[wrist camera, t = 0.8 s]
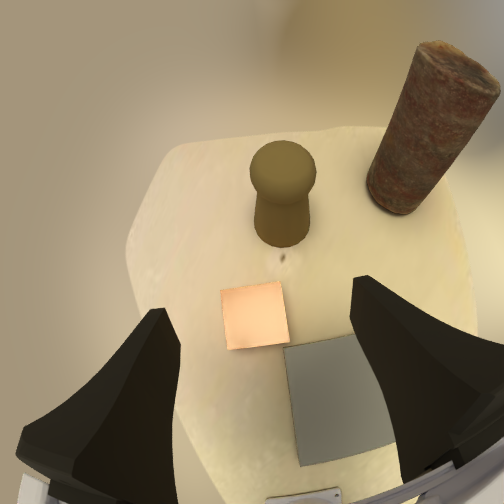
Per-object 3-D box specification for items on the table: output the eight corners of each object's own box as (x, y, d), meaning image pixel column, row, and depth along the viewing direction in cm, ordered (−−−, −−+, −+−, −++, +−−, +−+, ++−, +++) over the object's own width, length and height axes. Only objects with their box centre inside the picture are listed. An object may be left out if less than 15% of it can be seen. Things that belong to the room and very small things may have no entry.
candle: (384, 228, 28) (477, 94, 10) (351, 177, 31) (398, 29, 12) (427, 205, 29) (515, 91, 10) (396, 160, 31) (453, 35, 12)
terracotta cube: (287, 341, 26) (289, 341, 21) (236, 348, 26) (227, 350, 21) (279, 292, 27) (280, 281, 23) (230, 299, 28) (220, 290, 23)
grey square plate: (405, 426, 22) (417, 433, 19) (297, 455, 22) (300, 466, 19) (394, 323, 26) (406, 320, 23) (282, 347, 26) (283, 348, 23)
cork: (261, 253, 29) (251, 201, 18) (248, 203, 31) (234, 137, 20) (317, 240, 29) (336, 183, 18) (300, 192, 31) (308, 123, 20)
